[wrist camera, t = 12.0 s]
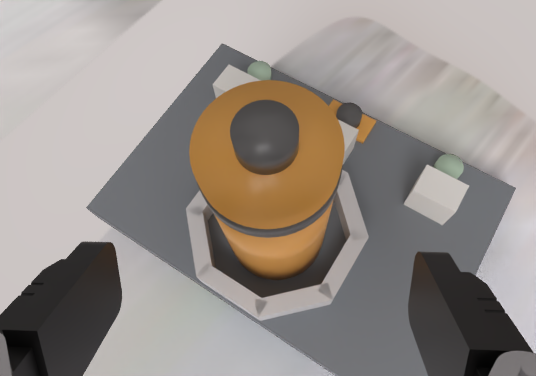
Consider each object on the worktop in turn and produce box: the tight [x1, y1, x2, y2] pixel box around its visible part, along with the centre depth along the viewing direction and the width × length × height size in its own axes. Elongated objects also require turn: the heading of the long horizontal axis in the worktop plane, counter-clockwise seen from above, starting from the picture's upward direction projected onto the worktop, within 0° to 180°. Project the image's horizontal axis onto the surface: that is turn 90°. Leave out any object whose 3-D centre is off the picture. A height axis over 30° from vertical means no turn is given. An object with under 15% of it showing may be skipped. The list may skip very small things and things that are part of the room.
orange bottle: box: [189, 80, 345, 280], centre depth 18 cm, size 5×5×11 cm
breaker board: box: [87, 44, 516, 376], centre depth 23 cm, size 19×13×4 cm
